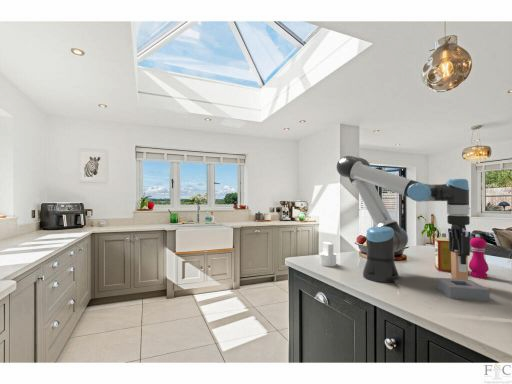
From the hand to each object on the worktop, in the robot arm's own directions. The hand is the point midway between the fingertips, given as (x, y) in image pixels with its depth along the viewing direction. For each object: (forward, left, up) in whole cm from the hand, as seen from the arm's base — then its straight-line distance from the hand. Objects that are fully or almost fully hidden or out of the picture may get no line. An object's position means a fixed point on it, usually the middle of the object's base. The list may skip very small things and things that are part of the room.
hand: (459, 270), depth 112 cm
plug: (0, 0, -6) cm, 6 cm away
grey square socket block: (-6, -14, -7) cm, 17 cm away
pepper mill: (+16, +18, -7) cm, 25 cm away
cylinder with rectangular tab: (-53, +26, -7) cm, 59 cm away
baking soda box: (+6, +29, -7) cm, 30 cm away
